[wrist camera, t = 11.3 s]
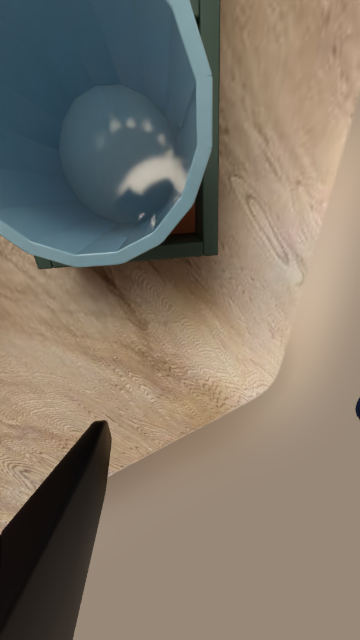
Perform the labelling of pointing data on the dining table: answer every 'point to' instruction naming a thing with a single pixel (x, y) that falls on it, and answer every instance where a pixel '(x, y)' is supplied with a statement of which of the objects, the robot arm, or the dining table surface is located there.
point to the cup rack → (202, 219)
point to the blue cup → (100, 125)
